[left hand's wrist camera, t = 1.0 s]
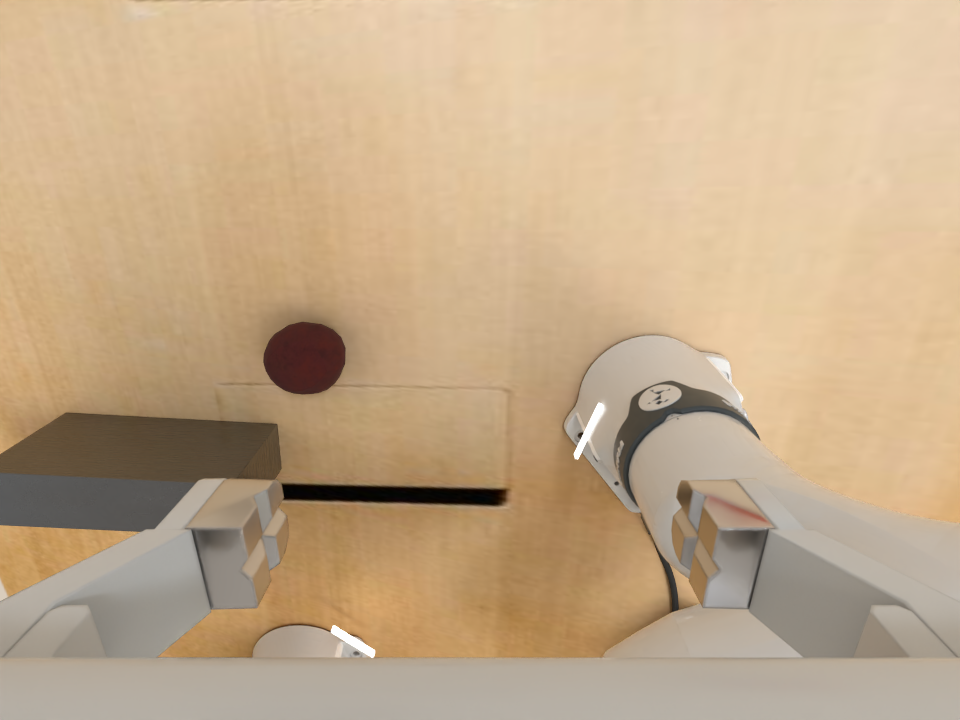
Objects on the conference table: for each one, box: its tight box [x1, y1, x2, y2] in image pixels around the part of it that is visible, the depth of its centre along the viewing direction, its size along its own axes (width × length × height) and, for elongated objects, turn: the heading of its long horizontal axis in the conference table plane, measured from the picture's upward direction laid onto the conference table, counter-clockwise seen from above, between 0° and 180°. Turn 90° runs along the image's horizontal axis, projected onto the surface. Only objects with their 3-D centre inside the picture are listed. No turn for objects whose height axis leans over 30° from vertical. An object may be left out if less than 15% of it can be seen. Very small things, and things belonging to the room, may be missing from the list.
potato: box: [264, 322, 345, 394], centre depth 51 cm, size 7×8×7 cm
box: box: [0, 413, 281, 532], centre depth 53 cm, size 23×6×12 cm, turn 86°
